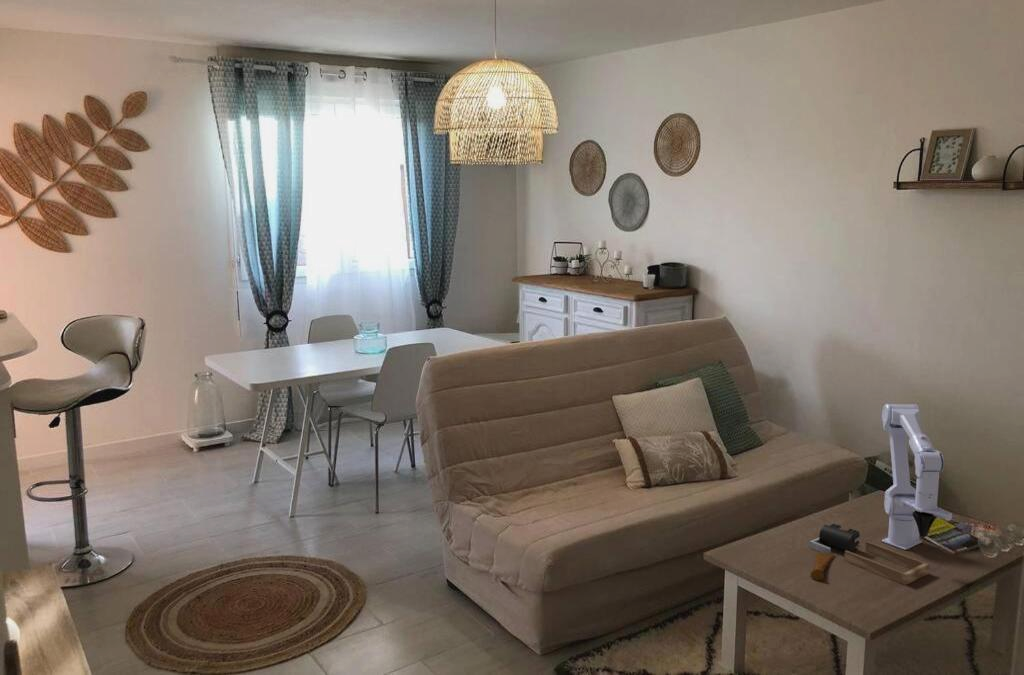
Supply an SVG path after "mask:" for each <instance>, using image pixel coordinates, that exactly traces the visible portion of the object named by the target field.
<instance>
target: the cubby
mask: <svg viewBox="0 0 1024 675" xmlns="http://www.w3.org/2000/svg"><path fill="white" fill-rule="evenodd" d="M865 552H868V553H870V554H872V555H875V556H878V557H880V558H882V559H884V560H888V561H891V562H893V563H895V564H899V565H901V566H902V567H903V566H904V567H906V568H909V570H908V571H905V572H903V571H901V570H898V569H896V568H893V567H891V566H888V565H886V564H883V563H881V562H877V561H875V560H873V559H869V558H867V557H865V556H862V555H860V554H858V553H856V552H854V553H852V552H850V551H847V550H846V551H845V552H844V556H843V559H844V560H843V561H845V562H847V563H849V564H852V565H855V566H857V567H860V568H862V569H863V570H864V569H865V570H867V571H869V572H872V573H874V574H877V575H879V576H882V577H884V578H886V579H889V580H892V581H895V582H897V583H899V584H902V585H904V586H907V585H909V584H911V583H913V582H915V581H917V580H919V579H922V578H923V577H925V576H927V575H929V574H930V566H931V565H930V563H928V562H925V561H922V560H920V559H919V558H915V557H912V556H910V555H907V554H905V553H904V554H903V553H901V552H899V551H895V550H893V549H890V548H887V547H885V546H883V545H880V544H876V543H874V542H871V541H868V540H867V541H866V542H865Z"/></svg>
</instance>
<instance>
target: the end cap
mask: <svg viewBox="0 0 1024 675" xmlns="http://www.w3.org/2000/svg"><path fill="white" fill-rule="evenodd" d="M841 528H842V525H840V524H836V523H832V524H830V525H828V524H824V525H823V526H822V527H821V529H820V531H819V535H818V538H819V540H820V542H821V543H822V545H824V546H827V547H829V548H831V549H835V550H838V551H841V552H844V553H845V551H846V550H847V551H850V552H852V553H856V552H857V551H858V550H859V548H858V546H859V545H860V541H859V540H857V539H858V538H860V536H861V535H860V531H859V530H856V529H853V528H849V529H846V530H844V529H841Z"/></svg>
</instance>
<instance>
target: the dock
mask: <svg viewBox="0 0 1024 675" xmlns="http://www.w3.org/2000/svg"><path fill="white" fill-rule="evenodd" d="M808 548H810V549H812V550H815V551H817V552H819V553H823V554H832V548H831V547H828V546H825V545H823V544H822V543H821V542H820V540H819V537H817V538H814V539H811V540H809V542H808Z"/></svg>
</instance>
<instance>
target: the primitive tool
mask: <svg viewBox="0 0 1024 675" xmlns="http://www.w3.org/2000/svg"><path fill="white" fill-rule="evenodd" d="M814 558H815V561H814V569H813V570H812V571H811V572H810V578H811V579H812V580H815V581H823V580H824V578H825V574H824V571H825V570H826V568H827V566H828V565H829V564H830V562H831V561H832V560H834V558H835V556H834V555H833V554H832V553H831V554H825V553H822V552H818V551H817V552H814Z"/></svg>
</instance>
